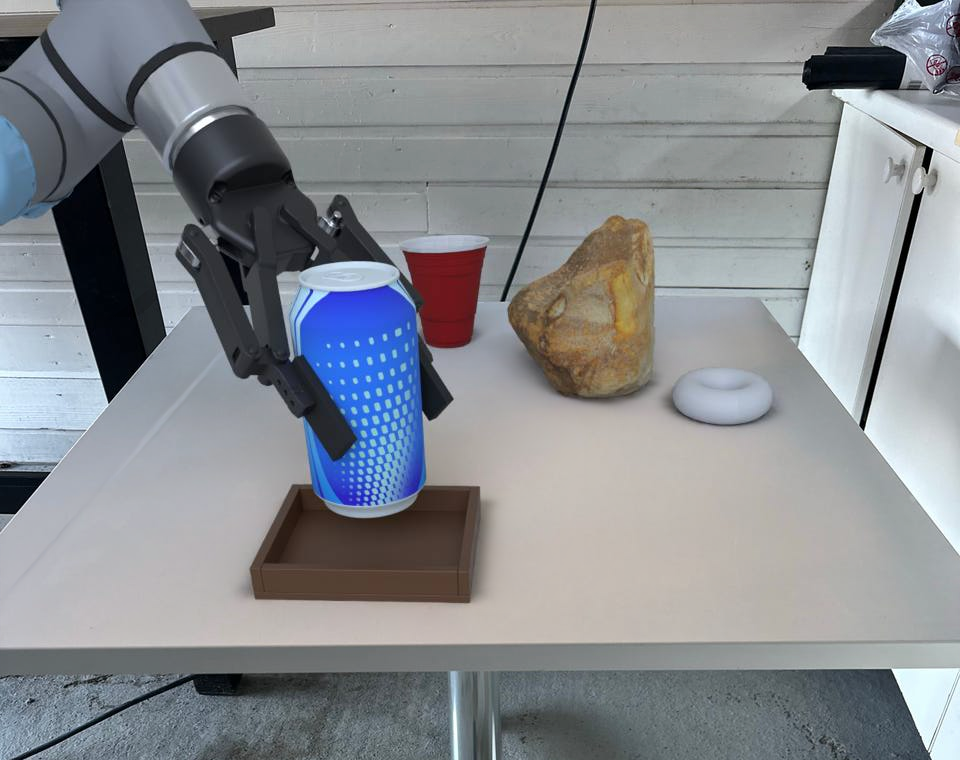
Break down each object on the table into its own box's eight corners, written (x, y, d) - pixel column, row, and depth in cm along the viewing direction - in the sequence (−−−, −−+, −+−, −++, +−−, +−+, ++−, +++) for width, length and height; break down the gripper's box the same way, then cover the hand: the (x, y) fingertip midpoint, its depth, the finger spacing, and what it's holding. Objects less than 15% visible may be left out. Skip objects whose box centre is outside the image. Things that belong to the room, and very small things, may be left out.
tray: (254, 599, 67) (248, 568, 65) (296, 511, 78) (292, 483, 76) (469, 603, 66) (468, 571, 64) (480, 514, 77) (480, 485, 75)
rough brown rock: (531, 341, 116) (521, 214, 108) (664, 337, 112) (665, 204, 103) (488, 415, 98) (472, 270, 90) (645, 414, 94) (644, 261, 85)
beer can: (408, 465, 73) (393, 252, 64) (442, 510, 67) (430, 281, 58) (304, 483, 71) (272, 266, 62) (328, 532, 65) (297, 297, 55)
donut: (730, 389, 100) (651, 402, 96) (735, 357, 98) (655, 369, 94) (790, 421, 92) (706, 436, 89) (797, 387, 90) (712, 401, 87)
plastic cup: (475, 323, 120) (473, 224, 113) (503, 348, 112) (502, 243, 105) (394, 333, 118) (387, 232, 111) (417, 358, 109) (410, 251, 102)
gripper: (317, 168, 72) (472, 412, 73) (63, 213, 60) (252, 507, 60) (355, 93, 66) (524, 359, 67) (82, 125, 54) (292, 453, 54)
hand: (395, 429), depth 63 cm, fingers closed on beer can, 8 cm apart
